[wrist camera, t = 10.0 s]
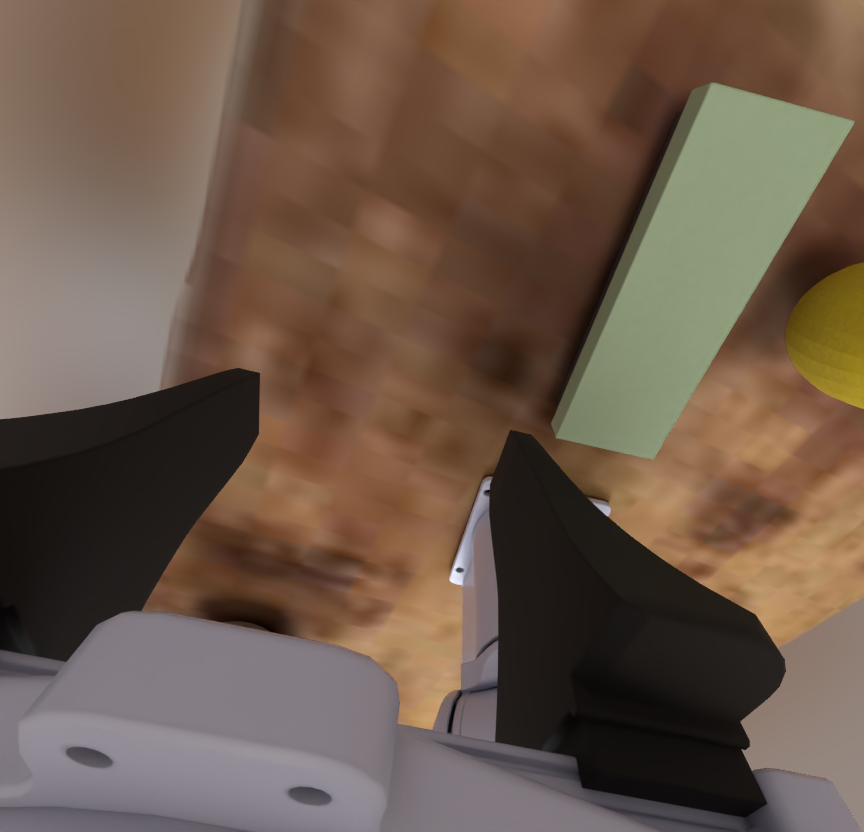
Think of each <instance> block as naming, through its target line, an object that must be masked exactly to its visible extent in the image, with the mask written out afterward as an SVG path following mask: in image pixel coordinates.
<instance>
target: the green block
mask: <svg viewBox="0 0 864 832" xmlns="http://www.w3.org/2000/svg"><path fill="white" fill-rule="evenodd" d="M854 123H855V121H854V120H851V119H847V118H844V117H840V116H836V115H833V114H829V113H825V112H821V111H818V110H814V109H810V108H807V107H803V106H799V105H796V104H792V103H788V102H785V101H781V100H777V99H774V98H770V97H766V96H763V95H759V94H755V93H752V92H748V91H744V90H741V89H737V88H733V87H730V86H726V85H722V84H719V83H715V82H711V83H709V84H706V85H703V86H701V87H698V88H695V89H693V90H692V91H691V94H690V96H689V99H688V101H687V103H686V106H685V108H684V110H683V111H681V112H678V113H677V114H676V117H675V119H674V122H673V124H672V126H671V129H670V131H669V134H668V136H667V138H666V141H665V143H664V146H663V148H662V150H661V153H660V155H659V158H658V160H657V162H656V165H655V167H654V170H653V172H652V174H651V177H650V179H649V181H648V184H647V186H646V189H645V191H644V193H643V196H642V198H641V201H640V203H639V205H638V208H637V210H636V213H635V215H634V217H633V220H632V222H631V225H630V227H629V229H628V232H627V234H626V236H625V239H624V241H623V244H622V246H621V248H620V251H619V253H618V256H617V258H616V260H615V263H614V265H613V268H612V270H611V272H610V275H609V277H608V280H607V282H606V284H605V287H604V289H603V292H602V294H601V296H600V299H599V301H598V303H597V306H596V308H595V311H594V313H593V315H592V318H591V320H590V323H589V325H588V327H587V330H586V332H585V335H584V337H583V339H582V342H581V344H580V347H579V349H578V351H577V354H576V356H575V359H574V361H573V363H572V366H571V368H570V370H569V373H568V375H567V378H566V380H565V382H564V385H563V387H562V390H561V392H560V394H559V397H558V399H557V402H556V407H557V411H556V413H555V415H554V418H553V420H552V422H551V426H552V428H553V431H554V434H555V437H556V438H557V439H562V440H566V441H571V442H575V443H580V444H584V445H589V446H593V447H598V448H602V449H607V450H611V451H615V452H620V453H624V454H629V455H633V456H638V457H642V458H647V459H651V460H653V459H654V458H655V456H656V454H657V453H658V451H659V449H660V448H661V446H662V444H663V443H664V441H665V439H666V438H667V436H668V434H669V433H670V431H671V429H672V427H673V426H674V424H675V422H676V421H677V419H678V417H679V416H680V414H681V412H682V411H683V409H684V407H685V406H686V404H687V402H688V401H689V399H690V397H691V396H692V394H693V392H694V391H695V389H696V387H697V386H698V384H699V382H700V381H701V379H702V377H703V376H704V374H705V372H706V371H707V369H708V367H709V366H710V364H711V362H712V361H713V359H714V357H715V356H716V354H717V352H718V351H719V349H720V347H721V345H722V344H723V342H724V340H725V339H726V337H727V335H728V334H729V332H730V330H731V329H732V327H733V325H734V324H735V322H736V320H737V319H738V317H739V315H740V314H741V312H742V310H743V309H744V307H745V305H746V304H747V302H748V300H749V299H750V297H751V295H752V294H753V292H754V290H755V289H756V287H757V285H758V284H759V282H760V280H761V279H762V277H763V275H764V274H765V272H766V270H767V269H768V267H769V265H770V263H771V262H772V260H773V258H774V257H775V255H776V253H777V252H778V250H779V248H780V247H781V245H782V243H783V242H784V240H785V238H786V237H787V235H788V233H789V232H790V230H791V228H792V227H793V225H794V223H795V222H796V220H797V218H798V217H799V215H800V213H801V212H802V210H803V208H804V207H805V205H806V203H807V202H808V200H809V198H810V197H811V195H812V193H813V192H814V190H815V188H816V187H817V185H818V183H819V181H820V180H821V178H822V176H823V175H824V173H825V171H826V170H827V168H828V166H829V165H830V163H831V161H832V160H833V158H834V156H835V155H836V153H837V151H838V150H839V148H840V146H841V145H842V143H843V141H844V140H845V138H846V136H847V135H848V133H849V131H850V130H851V128H852V126H853V125H854Z"/></svg>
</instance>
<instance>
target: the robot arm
mask: <svg viewBox="0 0 864 832" xmlns="http://www.w3.org/2000/svg"><path fill="white" fill-rule="evenodd" d="M259 392H260V373H257V372H253V371H249V370H244V369H240V368H236V369H231V370H227V371H223V372H220V373H216V374H213V375H210V376H207V377H204V378H200V379H197V380H194V381H191V382H188V383H185V384H181V385H178V386H175V387H172V388H168V389H165V390H161V391H157V392H154V393H150V394H146V395H143V396H139V397H136V398H132V399H128V400H124V401H119V402H115V403H111V404H106V405H100V406H95V407H90V408H85V409H79V410H73V411H66V412H58V413H51V414H44V415H36V416H30V417H21V418H12V419H0V832H863V831H862V830H861V828H860V827H859V825H858V823H857V822H856V820H855V818H854V817H853V815H852V813H851V812H850V810H849V808H848V807H847V805H846V803H845V802H844V800H843V798H842V797H841V795H840V794H839V792H838V790H837V789H836V787H835V786H834V784H833V782H831V781H829V780H828V779H826V778H821V777H816V776H811V775H806V774H801V773H795V772H790V771H785V770H780V769H770V768H764V769H757V770H754V771H751V769H750V767H749V764H748V762H747V760H746V758H745V756H744V754H743V752H742V750H741V749H744V750H746V749H747V748H748V747H749V746H750V741H749V738H748V737H747V735H746V733H745V731H744V729H743V727H742V725H741V723H740V721H741V720H743V719H744V718H745V717H746V716H747V715H749V714H750V713H751V712H752V711H753V710H754V709H756V708H757V707H758V706H759V705H761V704H762V703H763V702H764V701H765V700H767V699H768V698H769V697H770V696H771V695H772V694H773V693H774V692H775V691H776V690H777V688H779V686H780V684H781V682H782V679H783V677H784V674H785V672H786V669H785V659H784V658H783V656H782V655H781V653H780V652H779V650H778V649H777V647H776V645H775V644H774V642H773V641H772V639H771V638H770V636H769V635H768V633H767V632H766V630H765V628H764V627H763V625H762V624H761V622H760V621H759V619H758V618H757V616H756V615H755V614H753V613H752V612H750V611H748V610H746V609H744V608H743V607H741V606H739V605H737V604H735V603H734V602H732V601H730V600H728V599H726V598H725V597H723V596H721V595H719V594H717V593H716V592H714V591H712V590H710V589H708V588H707V587H705V586H703V585H702V584H700V583H698V582H697V581H695V580H694V579H692V578H690V577H689V576H687V575H686V574H684V573H682V572H681V571H679V570H678V569H676V568H675V567H673V566H672V565H670V564H669V563H667V562H666V561H664V560H663V559H661V558H660V557H658V556H657V555H655V554H654V553H653V552H651V551H650V550H649V549H647V548H646V547H645V546H643V545H642V544H641V543H639V542H638V541H637V540H635V539H634V538H633V537H631V536H630V535H629V534H628V533H626V532H625V531H624V530H623V529H621V528H620V527H619V526H618V525H617V524H616V523H614V522H613V521H612V520H611V519H610V518H609V517H608V516H609V514H610V512H611V507H610V505H609V503H608V502H606V501H602V500H597V499H593V498H588V497H586V496H585V495H584V494H583V493H582V492H581V491H580V490H579V489H578V487H577V486H576V485H575V484H574V483H573V482H572V481H571V480H570V479H569V478H568V476H567V475H566V474H565V473H564V472H563V471H562V470H561V469H560V467H559V466H558V465H557V464H556V463H555V461H554V460H553V459H552V458H551V457H550V456H549V454H548V453H547V452H546V451H545V450H544V448H543V447H542V446H541V445H540V444H539V443H538V441H537V440H536V439H535V438H534V437H533V436H532V435H530V434H526V433H521V432H517V431H512V430H510V433H509V435H508V438H507V441H506V443H505V446H504V449H503V451H502V454H501V457H500V459H499V462H498V465H497V467H496V470H495V472H494V475H493V477H486V478H485V479H483V481H482V484H481V486H480V489H479V492H478V495H477V498H476V500H475V503H474V506H473V509H472V512H471V514H470V517H469V520H468V523H467V526H466V529H465V531H464V534H463V537H462V540H461V543H460V545H459V548H458V551H457V554H456V557H455V560H454V562H453V565H452V568H451V571H450V574H449V580H450V582H452V583H454V584H458V585H463V605H462V662H463V664H462V665H461V690H455V691H452V692H450V693H449V694H448V695H447V696H446V697H445V698H444V700H443V702H442V704H441V706H440V709H439V712H438V715H437V718H436V720H435V723H434V726H433V730H428V729H423V728H417V727H412V726H407V725H401V724H397V721H398V713H399V704H400V702H399V695H398V688H397V682H396V681H395V680H394V679H393V677H392V676H391V675H390V674H389V673H388V672H386V671H385V670H384V669H383V668H382V667H381V666H380V665H379V664H378V663H376V662H375V661H374V660H373V659H372V658H371V657H369V656H366V655H363V654H360V653H358V652H355V651H352V650H349V649H347V648H344V647H341V646H338V645H334V644H329V643H324V642H318V641H313V640H308V639H303V638H298V637H293V636H288V635H283V634H277V633H272V632H267V631H262V630H257V629H252V628H247V627H242V626H237V625H231V624H226V623H221V622H216V621H211V620H206V619H201V618H196V617H190V616H185V615H180V614H175V613H170V612H154V611H141V610H142V608H143V607H144V605H145V603H146V601H147V599H148V598H149V596H150V594H151V593H152V591H153V589H154V588H155V586H156V584H157V582H158V581H159V579H160V577H161V576H162V574H163V572H164V571H165V569H166V567H167V565H168V564H169V562H170V561H171V559H172V557H173V556H174V554H175V553H176V551H177V549H178V548H179V546H180V545H181V543H182V541H183V540H184V538H185V537H186V535H187V534H188V532H189V531H190V529H191V528H192V527H193V525H194V524H195V522H196V521H197V520H198V519H199V517H200V516H201V515H202V513H203V512H204V511H205V510H206V508H207V507H208V506H209V505H210V503H211V502H212V501H213V500H214V498H215V497H216V496H217V495H218V493H219V492H220V491H221V489H222V488H223V487H224V486H225V484H226V483H227V482H228V481H229V479H230V478H231V477H232V475H233V474H234V473H235V472H236V470H237V469H238V468H239V466H240V465H241V464H242V462H243V461H244V459H245V458H246V456H247V454H248V453H249V451H250V449H251V447H252V445H253V444H254V442H255V440H256V438H257V436H258V434H259ZM485 490H490V492H485ZM459 567H460V568H459Z"/></svg>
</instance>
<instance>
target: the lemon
mask: <svg viewBox="0 0 864 832" xmlns="http://www.w3.org/2000/svg"><path fill="white" fill-rule="evenodd" d="M785 341H786V349H787V353H788V355H789V357H790V359H791V361H792V363H793V365H794V366H795V368H796V369H797V371H798V372H799V373H800V374H801V375H802V376H803V377H805V378H806V379H807V380H808V381H809V382H810V383H811V384H813V385H814V386H815V387H816V388H818V389H819V390H821V391H822V392H824V393H825V394H827V395H829V396H831V397H834V398H836V399H839V400H841V401H844V402H846V403H849V404H851V405H854V406H857V407H859V408H862V409H864V262H862V263H858V264H854V265H851V266H849V267H846V268H844V269H842V270H840V271H837V272H835V273H833V274H831V275H829V276H827V277H826V278H824V279H823V280H821V281H820V282H818V283H817V284H816V285H814V286H813V287H812V288H811V289H810V290H809V291H807V292H806V293H805V294H804V295H803V296H802V297H801V299H800V300H799V301H798V303H797V304H796V305H795V307H794V308H793V310H792V312H791V315H790V317H789V319H788V322H787V326H786V331H785Z"/></svg>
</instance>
